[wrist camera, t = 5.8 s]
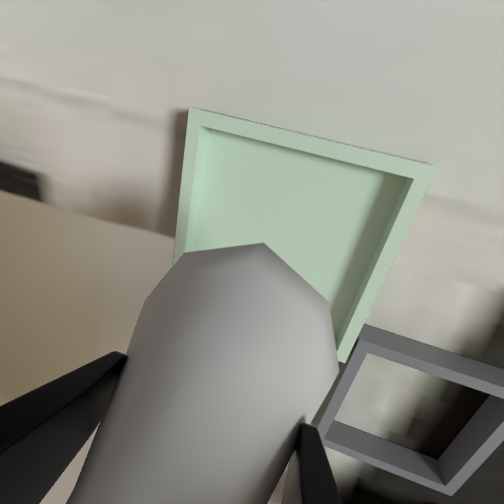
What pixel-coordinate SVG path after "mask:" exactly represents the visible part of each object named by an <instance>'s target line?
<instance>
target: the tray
mask: <svg viewBox="0 0 504 504" xmlns="http://www.w3.org/2000/svg"><path fill="white" fill-rule="evenodd" d="M437 168H438V167H436V166H433V165H431V164H428V163H424V162H420V161H416V160H412V159H407V158H403V157H399V156H395V155H391V154H387V153H382V152H378V151H374V150H370V149H366V148H362V147H357V146H353V145H349V144H345V143H341V142H336V141H332V140H328V139H324V138H320V137H316V136H311V135H307V134H303V133H299V132H295V131H291V130H286V129H282V128H278V127H274V126H270V125H266V124H261V123H257V122H253V121H249V120H245V119H241V118H236V117H232V116H228V115H224V114H220V113H216V112H211V111H207V110H203V109H197V108H190V107H189V112H188V122H187V131H186V141H185V150H184V159H183V169H182V178H181V188H180V197H179V206H178V216H177V225H176V235H175V244H174V253H173V263H172V267H173V266H174V264H175V263H176V262H177V261H178V260H179V258H180V257H181V256H182V255H183V253H185V252H193V251H201V250H209V249H217V248H225V247H233V246H241V245H249V244H257V243H265V244H266V245H267V246H268V247H269V248H270V249H271V250H272V251H274V252H275V253H276V254H277V255H278V256H279V257H280V258H281V259H282V260H283V261H285V262H286V263H287V264H288V265H289V266H290V267H291V268H292V269H293V270H294V271H296V272H297V273H298V274H299V275H300V276H301V277H302V278H303V279H304V280H305V281H307V282H308V283H309V284H310V285H311V286H312V287H313V288H314V289H315V290H316V291H318V292H319V293H320V294H321V295H322V296H323V297H324V298H325V299H326V300H327V301H328V302H329V305H330V311H331V318H332V325H333V332H334V338H335V345H336V352H337V358H338V361H340V362H342V363H345V362H346V360H347V358H348V356H349V354H350V352H351V350H352V348H353V345H354V343H355V341H356V339H357V337H358V335H359V333H360V331H361V329H362V326H363V324H364V322H365V320H366V318H367V316H368V314H369V312H370V309H371V307H372V305H373V303H374V301H375V299H376V297H377V295H378V293H379V290H380V288H381V286H382V284H383V282H384V280H385V278H386V276H387V273H388V271H389V269H390V267H391V265H392V263H393V261H394V259H395V256H396V254H397V252H398V250H399V248H400V246H401V244H402V242H403V240H404V237H405V235H406V233H407V231H408V229H409V227H410V225H411V223H412V220H413V218H414V216H415V214H416V212H417V210H418V208H419V206H420V204H421V201H422V199H423V197H424V195H425V193H426V191H427V189H428V187H429V184H430V182H431V180H432V178H433V176H434V174H435V172H436V170H437Z"/></svg>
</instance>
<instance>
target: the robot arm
mask: <svg viewBox="0 0 504 504" xmlns="http://www.w3.org/2000/svg"><path fill="white" fill-rule="evenodd" d="M127 358H128V357H127V355H125V354H122V353H120V352H117V351H115V352H111V353H109V354H107V355H105V356H103V357H101V358H99V359H96V360H94V361H92V362H90V363H88V364H86V365H84V366H82V367H80V368H78V369H76V370H74V371H72V372H70V373H68V374H66V375H63V376H61V377H59V378H58V379H56V380H53V381H51V382H49V383H47V384H45V385H43V386H41V387H39V388H37V389H35V390H33V391H31V392H28V393H26V394H24V395H22V396H20V397H18V398H16V399H14V400H12V401H10V402H8V403H6V404H4V405H2V406H0V504H39V503H40V502H41V501H42V499H43V498H44V497H45V495H46V494H47V493H48V491H49V490H50V489H51V487H52V486H53V485H54V484H55V482H56V481H57V479H58V478H59V477H60V476H61V474H62V473H63V472H64V470H65V469H66V468H67V466H68V465H69V464H70V462H71V461H72V460H73V459H74V457H75V456H76V454H77V453H78V452H79V451H80V449H81V448H82V447H83V445H84V444H85V443H86V441H87V440H88V439H89V437H90V436H91V434H92V433H93V432H94V430H95V429H96V427H97V425H98V424H99V422H100V421H101V419H102V416H103V414H104V411H105V409H106V406H107V404H108V401H109V398H110V396H111V393H112V391H113V388H114V386H115V383H116V381H117V378H118V376H119V373H120V372H121V370H122V368H123V366H124V364H125V362H126V360H127ZM282 504H342V501H341V498H340V495H339V492H338V489H337V486H336V483H335V480H334V477H333V474H332V471H331V468H330V465H329V462H328V459H327V456H326V453H325V449H324V446H323V443H322V440H321V437H320V434H319V431H318V429H317V428H316V427H315V426H313V425H310V424H307V423H304V422H303V423H302V424H301V426H300V430H299V435H298V439H297V443H296V448H295V451H294V453H293V455H292V457H291V458H290V461H289V466H288V472H287V477H286V483H285V488H284V494H283V499H282Z"/></svg>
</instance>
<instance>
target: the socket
mask: <svg viewBox="0 0 504 504" xmlns="http://www.w3.org/2000/svg"><path fill="white" fill-rule="evenodd" d="M367 352H368V353H371V354H374V355H376V356H379V357H382V358H385V359H388V360H391V361H394V362H397V363H400V364H403V365H406V366H409V367H412V368H415V369H418V370H420V371H423V372H426V373H429V374H432V375H435V376H438V377H441V378H444V379H447V380H450V381H453V382H456V383H459V384H462V385H465V386H467V387H470V388H473V389H476V390H479V391H482V392H485V393H488V394H491V395H490V396H489V397H488V398H487V399H486V401H485V402H484V403H483V404H482V406H481V407H480V408H479V409H478V411H477V412H476V413H475V414H474V415H473V417H472V418H471V419H470V420H469V422H468V423H467V424H466V425H465V427H464V428H463V429H462V430H461V431H460V433H459V434H458V435H457V436H456V438H455V439H454V440H453V441H452V443H451V444H450V445H449V446H448V447H447V449H446V450H445V451H444V452H443V454H442V455H441V456H440V457H439V459H438V460H436V459H434V458H431V457H429V456H426V455H423V454H421V453H418V452H415V451H413V450H410V449H408V448H405V447H402V446H400V445H397V444H394V443H392V442H389V441H387V440H384V439H381V438H379V437H376V436H373V435H371V434H368V433H366V432H363V431H360V430H358V429H355V428H352V427H350V426H347V425H345V424H342V423H339V422H337V421H334V418H335V416H336V414H337V412H338V410H339V408H340V406H341V404H342V402H343V400H344V398H345V396H346V394H347V392H348V390H349V388H350V386H351V384H352V382H353V380H354V378H355V376H356V374H357V372H358V370H359V368H360V366H361V364H362V362H363V360H364V358H365V356H366V354H367ZM338 365H339V373H338V375H337V377H336V379H335V381H334V383H333V385H332V387H331V389H330V390H329V392H328V394H327V395H326V397H325V399H324V401H323V402H322V404H321V406H320V408H319V409H318V411H317V413H316V414H315V416H314V418H313V426H315V427H316V428H317V429H318V431H319V434H320V437H321V440H322V443H323V446H326V447H328V448H331V449H333V450H336V451H338V452H341V453H343V454H346V455H348V456H351V457H353V458H356V459H358V460H361V461H364V462H366V463H369V464H371V465H374V466H376V467H379V468H381V469H384V470H386V471H389V472H391V473H394V474H396V475H399V476H401V477H404V478H406V479H409V480H412V481H414V482H417V483H419V484H422V485H424V486H427V487H429V488H432V489H434V490H437V491H439V492H442V493H444V494H447V495H449V496H452V495H453V494H454V493H455V492H456V491H457V490H458V489H459V488H460V487H461V485H462V484H463V483H464V482H465V481H466V480H467V479H468V478H469V477H470V476H471V475H472V474H473V473H474V472H475V470H476V469H477V468H478V467H479V466H480V465H481V464H482V463H483V462H484V461H485V460H486V459H487V458H488V456H489V455H490V454H491V453H492V452H493V451H494V450H495V449H496V448H497V447H498V446H499V445H500V444H501V443H502V441H503V440H504V369H501V368H498V367H494V366H491V365H488V364H485V363H482V362H479V361H476V360H473V359H470V358H467V357H464V356H461V355H458V354H455V353H452V352H449V351H446V350H442V349H439V348H436V347H433V346H430V345H427V344H424V343H421V342H418V341H415V340H412V339H409V338H406V337H403V336H400V335H397V334H394V333H391V332H387V331H384V330H381V329H378V328H375V327H372V326H369V325H366V324H363V326H362V329H361V331H360V333H359V335H358V337H357V339H356V341H355V343H354V345H353V348H352V350H351V352H350V354H349V356H348V358H347V360H346V362H345V363H342V362H339V364H338Z"/></svg>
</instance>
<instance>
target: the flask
mask: <svg viewBox="0 0 504 504" xmlns="http://www.w3.org/2000/svg"><path fill="white" fill-rule="evenodd" d="M126 355H127V357H128V358H127V360H126V362H125V364H124V366H123V368H122V370H121V372H120V373H119V376H118V378H117V381H116V383H115V386H114V388H113V391H112V393H111V396H110V398H109V401H108V404H107V406H106V409H105V411H104V414H103V416H102V419H101V421H100V424H99V426H98V429H97V432H96V434H95V437H94V439H93V442H92V444H91V447H90V449H89V452H88V454H87V457H86V460H85V463H84V465H83V467H82V470H81V472H80V475H79V477H78V480H77V482H76V485H75V488H74V489H73V491H72V493H71V495H70V497H69V499H68V501H67V503H66V504H267V502H268V500H269V499H270V497H271V495H272V493H273V491H274V489H275V487H276V485H277V483H278V481H279V479H280V478H281V476H282V474H283V472H284V470H285V468H286V466H287V464H288V462H289V460H290V458H291V457H292V455H293V453H294V451H295V448H296V443H297V439H298V435H299V430H300V426H301V424H302V423H303V422H304V423H307V424H310V423H311V421H312V420H313V418H314V416H315V414H316V413H317V411H318V409H319V408H320V406H321V404H322V402H323V401H324V399H325V397H326V395H327V394H328V392H329V390H330V389H331V387H332V385H333V383H334V381H335V379H336V377H337V375H338V373H339V365H338V358H337V352H336V345H335V338H334V332H333V325H332V318H331V311H330V305H329V302H328V301H327V300H326V299H325V298H324V297H323V296H322V295H321V294H320V293H319V292H318V291H316V290H315V289H314V288H313V287H312V286H311V285H310V284H309V283H308V282H307V281H305V280H304V279H303V278H302V277H301V276H300V275H299V274H298V273H297V272H296V271H294V270H293V269H292V268H291V267H290V266H289V265H288V264H287V263H286V262H285V261H283V260H282V259H281V258H280V257H279V256H278V255H277V254H276V253H275V252H274V251H272V250H271V249H270V248H269V247H268V246H267V245H266V244H265V243H257V244H249V245H241V246H233V247H225V248H217V249H209V250H201V251H193V252H185V253H183V255H182V256H181V257H180V258H179V260H178V261H177V262H176V263H175V264H174V266H173V267H172V268H171V269H170V270H169V272H168V273H167V274H166V275H165V277H164V278H163V279H162V280H161V282H160V283H159V284H158V285H157V287H156V288H155V289H154V290H153V291H152V292H151V294H150V295H149V296H148V297H147V299H146V300H145V302H144V305H143V307H142V310H141V312H140V315H139V318H138V320H137V323H136V326H135V329H134V332H133V336H132V338H131V341H130V344H129V347H128V350H127V352H126Z"/></svg>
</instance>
